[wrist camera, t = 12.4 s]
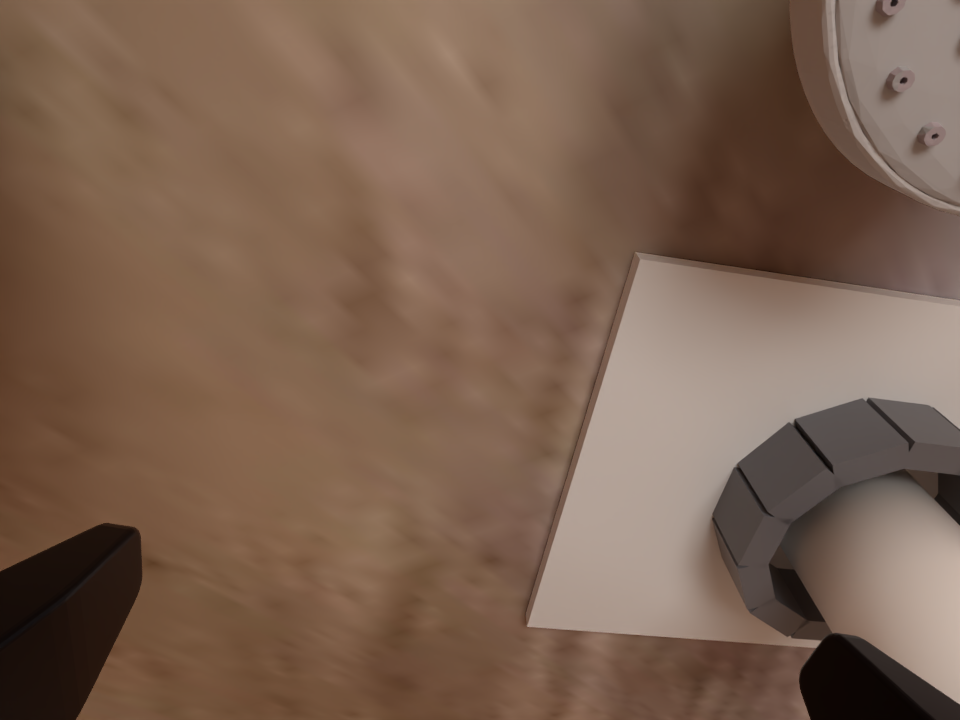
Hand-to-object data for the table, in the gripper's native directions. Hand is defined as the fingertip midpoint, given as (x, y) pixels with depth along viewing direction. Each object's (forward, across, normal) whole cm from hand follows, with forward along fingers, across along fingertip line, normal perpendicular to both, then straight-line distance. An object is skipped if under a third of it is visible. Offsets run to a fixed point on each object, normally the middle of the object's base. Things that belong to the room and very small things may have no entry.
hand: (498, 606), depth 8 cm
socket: (+12, +15, -6) cm, 20 cm away
